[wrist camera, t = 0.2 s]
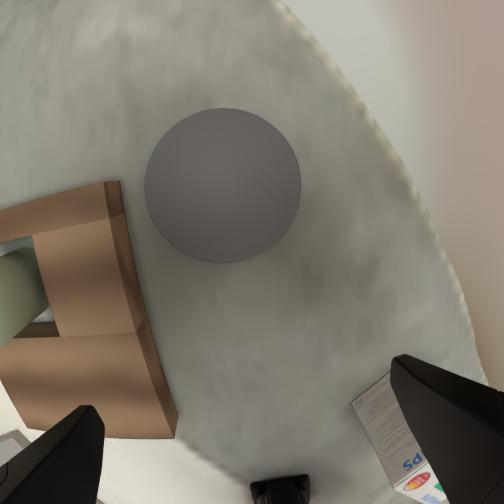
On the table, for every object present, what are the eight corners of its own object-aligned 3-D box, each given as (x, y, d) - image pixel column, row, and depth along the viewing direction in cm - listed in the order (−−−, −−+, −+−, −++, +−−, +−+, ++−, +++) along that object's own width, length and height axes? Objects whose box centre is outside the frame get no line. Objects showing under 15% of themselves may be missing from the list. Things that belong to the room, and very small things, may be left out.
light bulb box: (440, 403, 27) (490, 464, 17) (394, 442, 28) (432, 509, 18) (403, 355, 25) (468, 429, 15) (347, 403, 26) (390, 490, 15)
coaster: (304, 248, 22) (308, 251, 21) (162, 268, 22) (159, 272, 21) (287, 104, 20) (290, 101, 19) (140, 125, 19) (136, 123, 18)
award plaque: (149, 528, 31) (147, 539, 29) (50, 530, 33) (48, 537, 31) (19, 427, 25) (12, 437, 23) (-42, 450, 27) (-47, 457, 25)
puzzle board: (178, 415, 25) (174, 438, 22) (38, 411, 24) (27, 428, 21) (119, 180, 20) (103, 181, 17) (-29, 222, 19) (-50, 228, 16)
